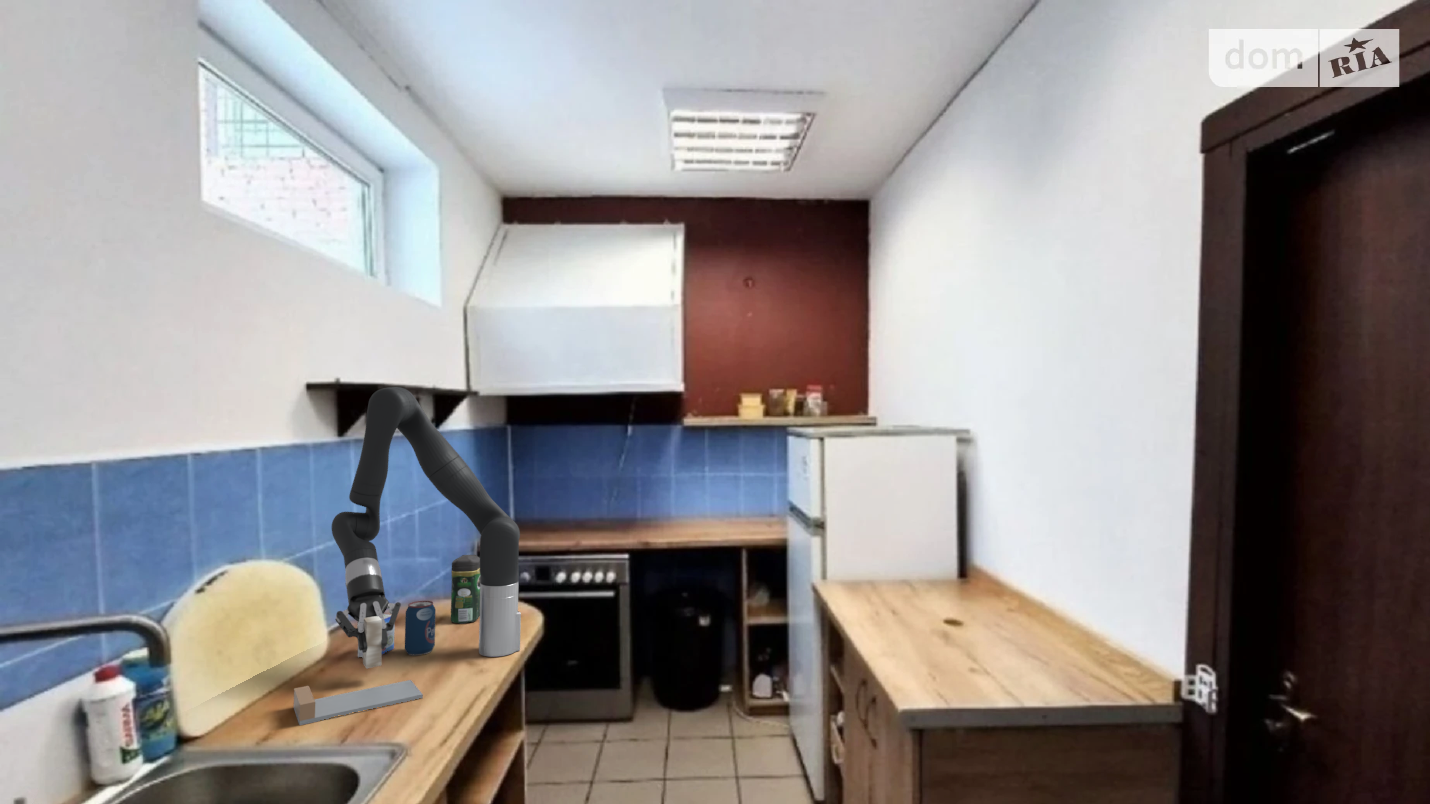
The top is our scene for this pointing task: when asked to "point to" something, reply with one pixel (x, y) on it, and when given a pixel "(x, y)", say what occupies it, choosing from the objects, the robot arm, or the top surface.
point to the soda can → (420, 628)
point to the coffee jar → (465, 589)
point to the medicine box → (389, 634)
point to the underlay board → (350, 701)
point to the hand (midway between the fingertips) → (374, 648)
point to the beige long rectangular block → (373, 641)
